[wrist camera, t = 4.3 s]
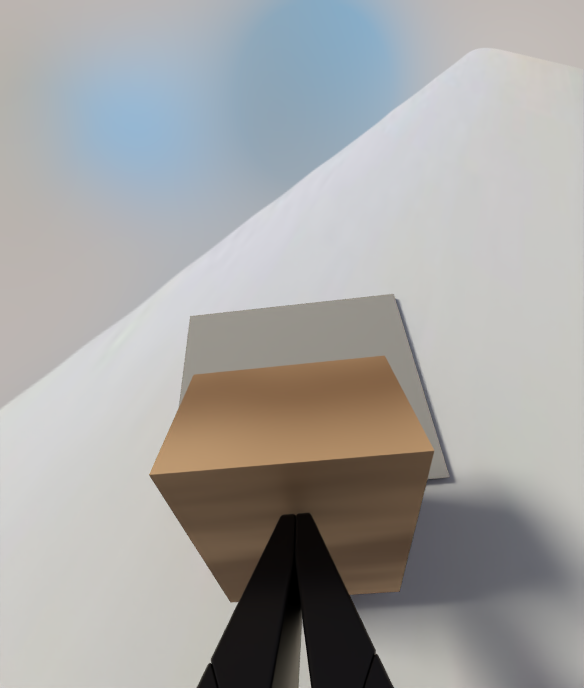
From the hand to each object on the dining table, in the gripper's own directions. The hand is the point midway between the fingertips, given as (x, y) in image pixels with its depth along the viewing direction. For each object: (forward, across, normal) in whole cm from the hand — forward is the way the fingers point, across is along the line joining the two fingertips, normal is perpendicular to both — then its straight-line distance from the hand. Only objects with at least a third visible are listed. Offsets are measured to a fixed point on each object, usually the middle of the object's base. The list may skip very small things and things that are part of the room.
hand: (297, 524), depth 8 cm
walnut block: (+4, 0, +6) cm, 7 cm away
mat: (+10, 0, +1) cm, 11 cm away
